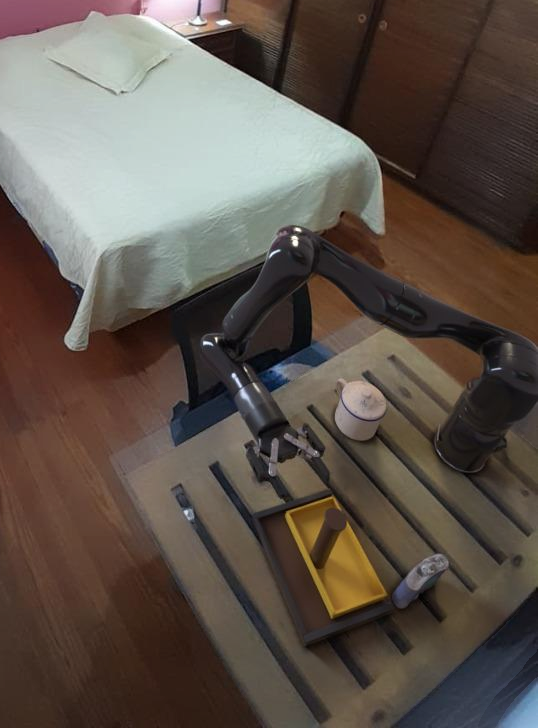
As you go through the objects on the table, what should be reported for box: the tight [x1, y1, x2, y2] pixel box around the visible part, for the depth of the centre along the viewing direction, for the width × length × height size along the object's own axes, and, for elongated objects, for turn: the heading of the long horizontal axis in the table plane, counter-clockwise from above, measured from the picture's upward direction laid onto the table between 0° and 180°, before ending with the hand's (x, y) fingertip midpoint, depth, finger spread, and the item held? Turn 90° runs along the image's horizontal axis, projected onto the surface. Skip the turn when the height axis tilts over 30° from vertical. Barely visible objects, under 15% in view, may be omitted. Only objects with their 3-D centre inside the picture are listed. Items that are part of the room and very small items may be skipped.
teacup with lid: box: [334, 378, 388, 442], centre depth 116 cm, size 12×9×12 cm
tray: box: [285, 495, 388, 619], centre depth 92 cm, size 10×16×18 cm, turn 15°
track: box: [251, 488, 396, 647], centre depth 97 cm, size 16×20×2 cm
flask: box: [391, 553, 451, 610], centre depth 91 cm, size 9×3×11 cm, turn 117°
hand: (307, 489), depth 97 cm, fingers open, 8 cm apart
